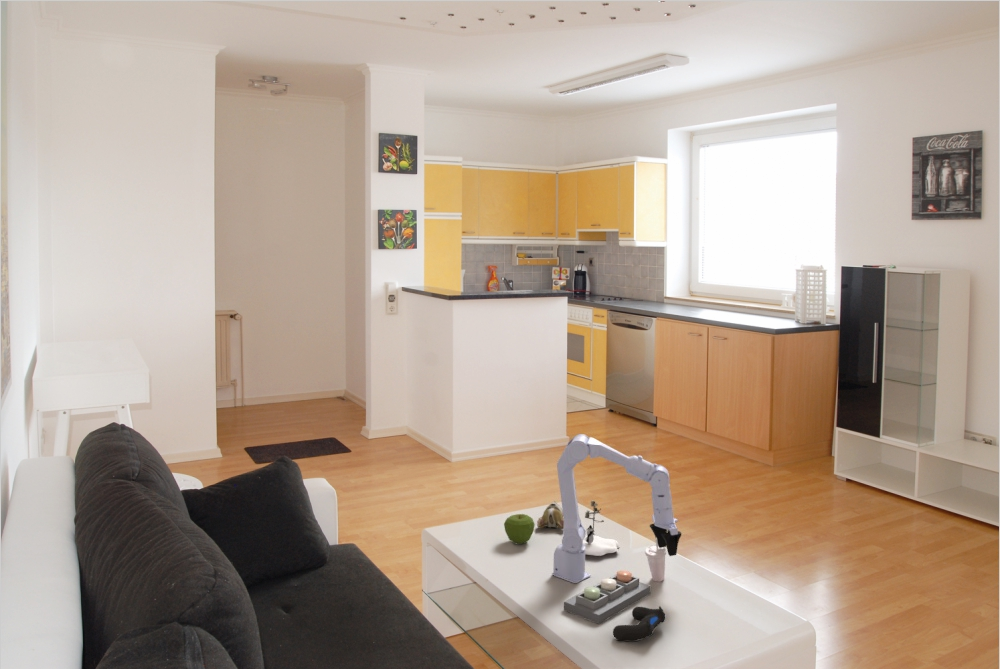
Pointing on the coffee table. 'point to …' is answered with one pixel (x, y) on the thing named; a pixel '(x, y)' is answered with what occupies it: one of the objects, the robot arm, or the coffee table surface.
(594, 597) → the sage button
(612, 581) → the offwhite button
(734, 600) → the coffee table surface
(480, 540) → the coffee table surface
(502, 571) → the coffee table surface
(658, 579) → the smoothie
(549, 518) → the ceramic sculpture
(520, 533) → the apple
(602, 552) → the figurine
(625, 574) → the peach button
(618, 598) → the button panel
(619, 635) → the gaming controller
